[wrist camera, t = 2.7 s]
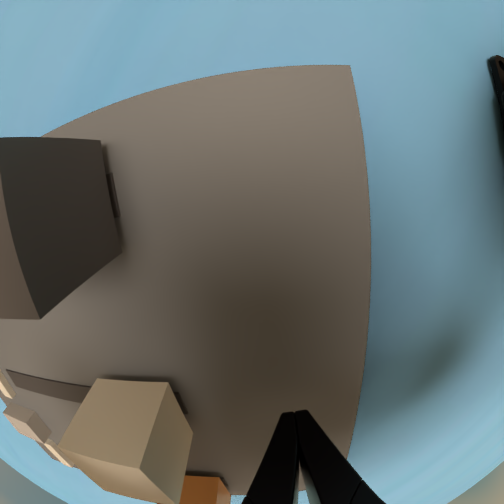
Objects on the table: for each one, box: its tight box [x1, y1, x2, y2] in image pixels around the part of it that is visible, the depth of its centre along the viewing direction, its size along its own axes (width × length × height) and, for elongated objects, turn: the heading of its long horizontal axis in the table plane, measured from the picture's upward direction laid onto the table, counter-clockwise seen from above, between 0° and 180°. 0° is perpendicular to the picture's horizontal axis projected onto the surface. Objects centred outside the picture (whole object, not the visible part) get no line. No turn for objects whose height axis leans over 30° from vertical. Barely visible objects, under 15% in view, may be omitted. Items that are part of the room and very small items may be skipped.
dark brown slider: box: [0, 137, 122, 320], centre depth 5 cm, size 3×3×4 cm
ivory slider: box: [57, 378, 193, 504], centre depth 7 cm, size 3×3×4 cm
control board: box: [0, 65, 371, 495], centre depth 9 cm, size 22×20×4 cm
